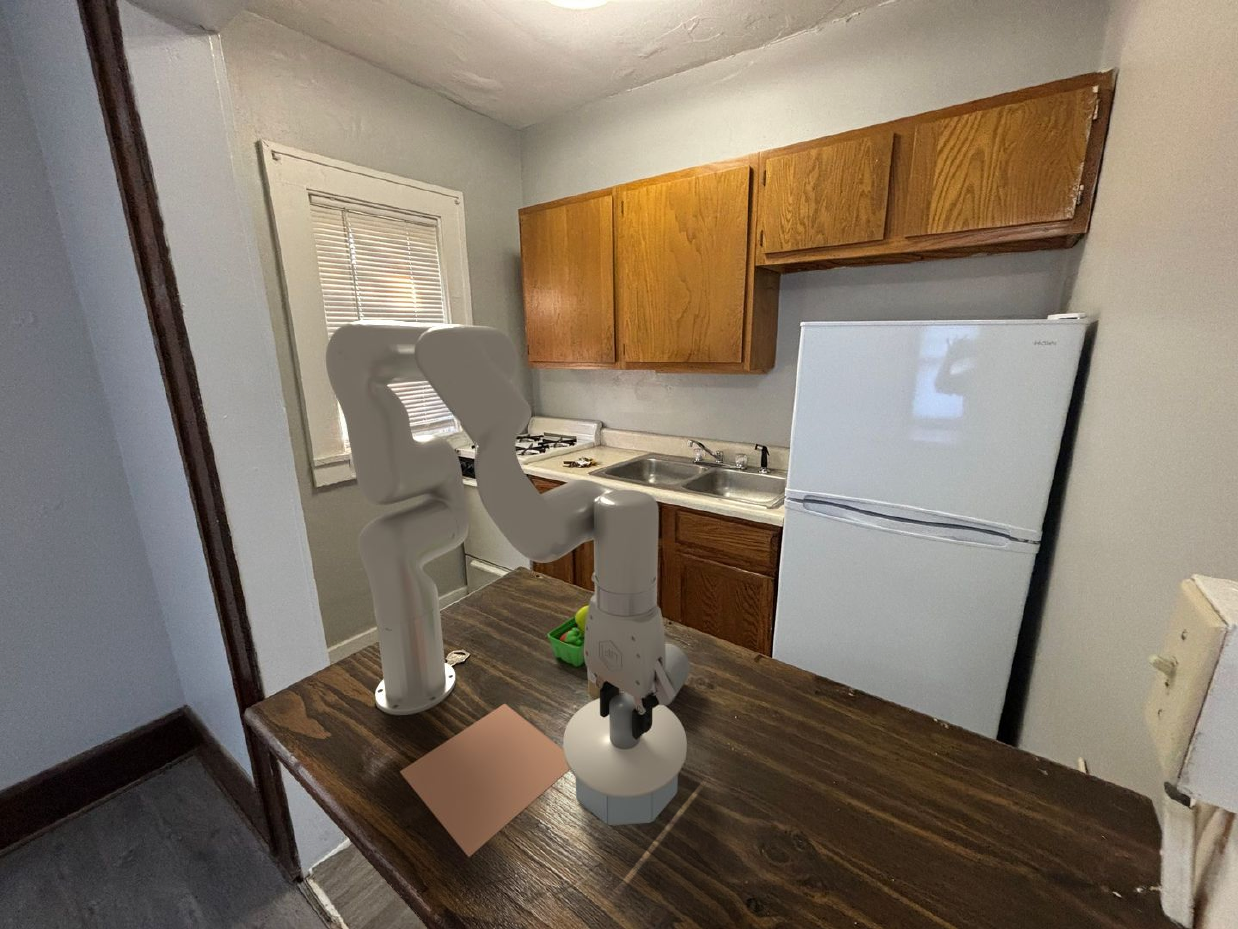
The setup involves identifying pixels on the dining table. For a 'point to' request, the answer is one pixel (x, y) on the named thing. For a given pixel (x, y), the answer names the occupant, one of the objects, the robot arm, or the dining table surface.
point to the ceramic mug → (676, 667)
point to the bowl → (626, 804)
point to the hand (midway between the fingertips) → (625, 720)
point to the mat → (486, 776)
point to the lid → (624, 749)
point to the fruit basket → (570, 638)
